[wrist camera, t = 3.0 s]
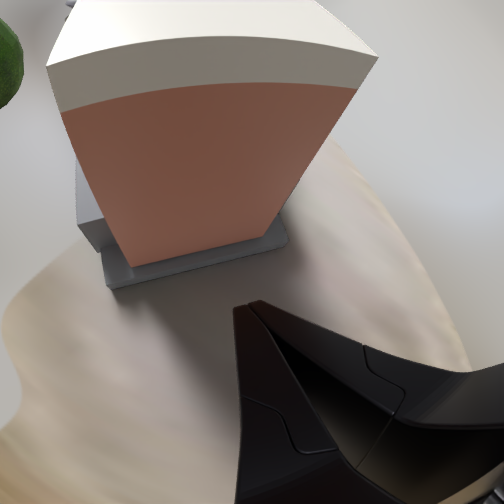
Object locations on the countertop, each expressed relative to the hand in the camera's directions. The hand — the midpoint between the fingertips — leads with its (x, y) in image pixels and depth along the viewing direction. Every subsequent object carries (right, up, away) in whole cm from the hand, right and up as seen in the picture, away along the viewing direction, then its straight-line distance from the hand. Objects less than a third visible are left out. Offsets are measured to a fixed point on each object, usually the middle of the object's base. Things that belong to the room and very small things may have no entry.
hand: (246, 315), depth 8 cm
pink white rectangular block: (-3, +4, +7) cm, 9 cm away
